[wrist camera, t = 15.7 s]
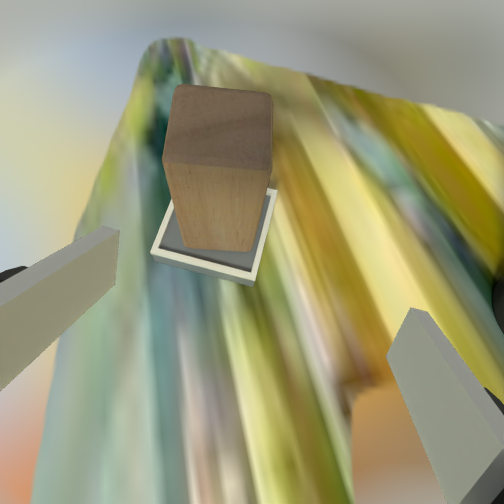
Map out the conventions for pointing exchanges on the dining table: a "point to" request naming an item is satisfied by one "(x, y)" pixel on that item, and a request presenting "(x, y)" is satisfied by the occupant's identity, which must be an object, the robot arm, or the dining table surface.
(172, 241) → the baseplate
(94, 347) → the dining table surface
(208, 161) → the block
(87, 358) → the dining table surface
